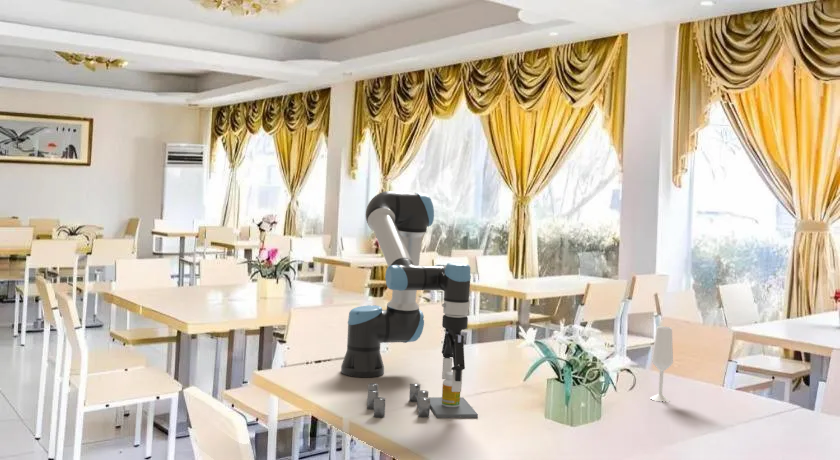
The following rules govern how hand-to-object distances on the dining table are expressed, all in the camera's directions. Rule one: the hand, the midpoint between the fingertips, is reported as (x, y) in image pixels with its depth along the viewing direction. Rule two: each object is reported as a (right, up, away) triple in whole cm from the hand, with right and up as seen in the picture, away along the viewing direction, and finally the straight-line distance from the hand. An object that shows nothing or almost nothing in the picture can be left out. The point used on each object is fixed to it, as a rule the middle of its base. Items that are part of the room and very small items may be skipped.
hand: (451, 385), depth 225 cm
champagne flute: (+70, -10, +23) cm, 74 cm away
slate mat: (0, -7, 0) cm, 7 cm away
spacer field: (-16, -6, -2) cm, 17 cm away
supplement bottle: (0, -6, 0) cm, 6 cm away
